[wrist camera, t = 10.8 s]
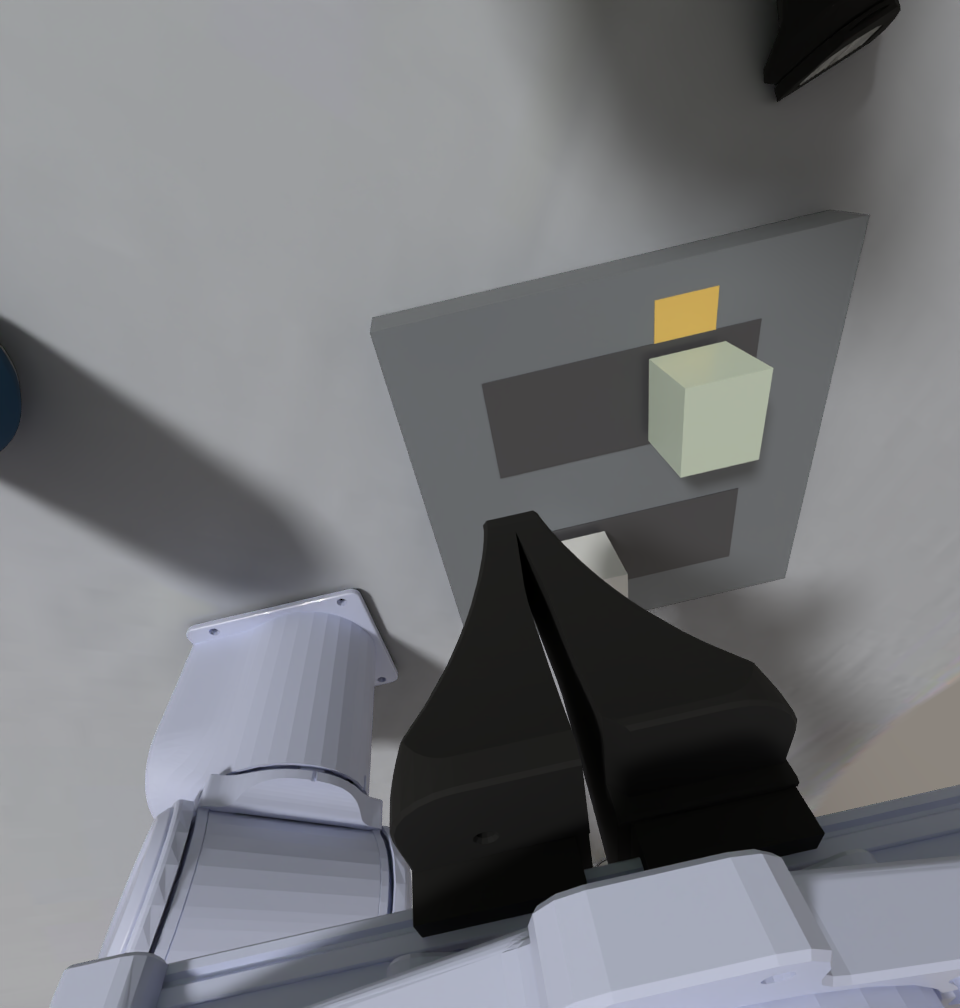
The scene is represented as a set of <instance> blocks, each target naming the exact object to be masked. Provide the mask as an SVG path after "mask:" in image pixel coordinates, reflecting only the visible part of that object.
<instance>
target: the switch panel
mask: <svg viewBox="0 0 960 1008" xmlns="http://www.w3.org/2000/svg"><path fill="white" fill-rule="evenodd" d="M869 216H870V215H868V214H859V213H851V212H843V211H835V210H827V211H823V212H819V213H815V214H810V215H806V216H802V217H798V218H793V219H789V220H785V221H781V222H776V223H772V224H768V225H764V226H759V227H755V228H751V229H747V230H743V231H738V232H734V233H730V234H726V235H721V236H717V237H713V238H709V239H704V240H700V241H696V242H692V243H687V244H683V245H679V246H675V247H670V248H666V249H662V250H658V251H654V252H649V253H645V254H641V255H637V256H632V257H628V258H624V259H620V260H615V261H611V262H607V263H603V264H598V265H594V266H590V267H586V268H581V269H577V270H573V271H569V272H564V273H560V274H556V275H552V276H548V277H543V278H539V279H535V280H531V281H526V282H522V283H518V284H514V285H509V286H505V287H501V288H497V289H492V290H488V291H484V292H480V293H475V294H471V295H467V296H463V297H459V298H454V299H450V300H446V301H442V302H437V303H433V304H429V305H425V306H420V307H416V308H412V309H408V310H403V311H399V312H395V313H391V314H386V315H382V316H378V317H374V318H372V323H371V329H370V335H371V338H372V341H373V344H374V347H375V350H376V354H377V357H378V360H379V363H380V366H381V369H382V372H383V376H384V379H385V382H386V385H387V388H388V391H389V394H390V397H391V401H392V404H393V407H394V410H395V413H396V416H397V419H398V423H399V426H400V429H401V432H402V435H403V438H404V441H405V444H406V448H407V451H408V454H409V457H410V460H411V463H412V466H413V470H414V473H415V476H416V479H417V482H418V485H419V488H420V491H421V495H422V498H423V501H424V504H425V507H426V510H427V513H428V517H429V520H430V523H431V526H432V529H433V532H434V535H435V539H436V542H437V545H438V548H439V551H440V554H441V557H442V560H443V564H444V567H445V570H446V573H447V576H448V579H449V582H450V586H451V589H452V592H453V595H454V598H455V601H456V604H457V607H458V611H459V614H460V617H461V620H462V623H463V626H464V624H465V621H466V619H467V616H468V613H469V610H470V606H471V603H472V599H473V596H474V592H475V588H476V584H477V580H478V576H479V570H480V565H481V560H482V553H483V543H484V529H483V525H484V523H485V522H486V521H488V520H492V519H497V518H501V517H506V516H510V515H515V514H519V513H523V512H528V511H532V510H533V511H535V512H536V513H538V515H539V516H540V517H541V519H542V520H543V521H544V523H545V524H546V525H547V526H548V527H549V529H550V530H551V531H552V532H553V533H554V534H555V535H556V536H557V537H558V539H559V540H560V541H564V540H569V539H573V538H577V537H581V536H586V535H590V534H594V533H599V532H603V531H605V533H606V535H607V537H608V539H609V541H610V542H611V544H612V546H613V548H614V550H615V552H616V554H617V555H618V557H619V559H620V561H621V563H622V565H623V566H624V568H625V570H626V572H627V574H628V599H630V600H631V601H633V602H634V603H636V604H637V605H639V606H640V607H642V608H643V609H645V610H649V609H654V608H658V607H662V606H667V605H671V604H675V603H680V602H684V601H688V600H692V599H697V598H701V597H705V596H710V595H714V594H718V593H723V592H727V591H731V590H736V589H740V588H744V587H749V586H753V585H757V584H762V583H766V582H770V581H775V580H779V579H783V578H785V575H786V571H787V566H788V562H789V558H790V554H791V549H792V545H793V541H794V536H795V532H796V528H797V524H798V519H799V515H800V511H801V506H802V502H803V498H804V494H805V489H806V485H807V481H808V477H809V472H810V468H811V464H812V459H813V455H814V451H815V447H816V442H817V438H818V434H819V429H820V425H821V421H822V417H823V412H824V408H825V404H826V400H827V395H828V391H829V387H830V382H831V378H832V374H833V370H834V365H835V361H836V357H837V352H838V348H839V344H840V340H841V335H842V331H843V327H844V323H845V318H846V314H847V310H848V305H849V301H850V297H851V293H852V288H853V284H854V280H855V275H856V271H857V267H858V263H859V258H860V254H861V250H862V246H863V241H864V237H865V233H866V228H867V224H868V220H869ZM724 341H727V342H728V343H730V344H732V345H734V346H735V347H737V348H739V349H741V350H743V351H744V352H746V353H748V354H750V355H751V356H753V357H755V358H757V359H758V360H760V361H762V362H764V363H766V364H767V365H769V366H771V367H773V374H772V380H771V387H770V393H769V399H768V405H767V412H766V418H765V424H764V430H763V437H762V443H761V449H760V455H759V460H755V461H750V462H746V463H742V464H737V465H733V466H729V467H725V468H720V469H716V470H712V471H707V472H703V473H699V474H694V475H690V476H686V477H682V478H680V477H679V475H678V474H677V473H676V472H675V471H674V470H673V468H672V467H671V466H670V465H669V464H668V463H667V462H666V460H665V459H664V458H663V457H662V456H661V455H660V454H659V452H658V451H657V450H656V449H655V448H654V447H653V445H652V444H651V443H650V442H649V441H648V424H649V359H651V358H656V357H660V356H664V355H668V354H673V353H677V352H681V351H685V350H690V349H694V348H698V347H702V346H707V345H711V344H715V343H720V342H724ZM534 622H535V621H534ZM535 626H536V624H535ZM536 629H537V627H536ZM537 632H538V629H537ZM538 635H539V632H538Z"/></svg>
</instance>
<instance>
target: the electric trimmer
mask: <svg viewBox="0 0 960 1008" xmlns="http://www.w3.org/2000/svg"><path fill="white" fill-rule="evenodd" d="M777 8H778V16H779V25H780V27H779V31H778V35H777V38H776V41H775V43H774V46H773V48H772V51H771V53H770V56H769V58H768V60H767V63H766V65H765V67H764V83H767V84H774V85H777V84H778V85H777V86H776V87H775V94H776V99H777V102H778V101H780V100H781V99H783V98H785V97H786V96H788V95H789V94H791V93H792V92H794V91H795V90H797V89H799V88H800V87H802V86H803V85H805V84H806V83H808V82H809V81H811V80H813V79H814V78H816V77H817V76H819V75H820V74H822V73H823V72H825V71H827V70H828V69H830V68H831V67H833V66H834V65H836V64H837V63H839V62H840V61H842V60H844V59H845V58H847V57H848V56H850V55H851V54H853V53H854V52H856V51H858V50H859V49H861V48H862V47H864V46H865V45H867V44H868V43H870V42H871V41H872V40H873V39H875V38H876V37H877V36H878V35H879V34H880V33H882V32H883V31H884V30H885V29H886V28H887V27H888V26H889V25H890V23H891V22H892V21H893V20H894V19H895V17H896V16H897V14H898V13H899V11H900V4H899V1H898V0H777ZM847 24H848V25H847ZM840 29H841V30H840ZM836 32H837V33H836ZM827 39H828V40H827ZM815 49H816V50H815ZM807 56H808V57H807ZM782 79H783V80H782Z"/></svg>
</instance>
